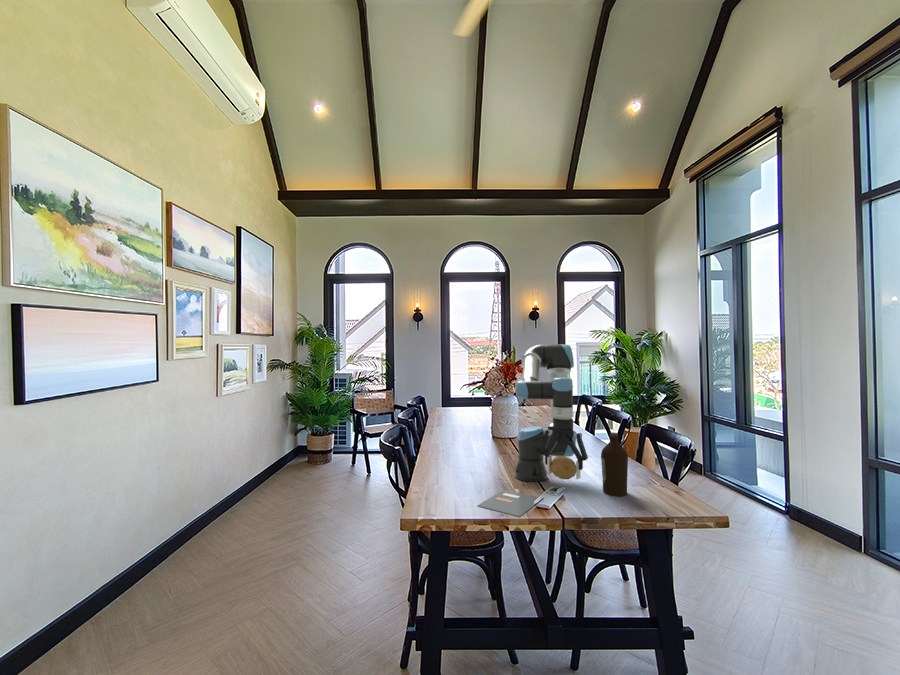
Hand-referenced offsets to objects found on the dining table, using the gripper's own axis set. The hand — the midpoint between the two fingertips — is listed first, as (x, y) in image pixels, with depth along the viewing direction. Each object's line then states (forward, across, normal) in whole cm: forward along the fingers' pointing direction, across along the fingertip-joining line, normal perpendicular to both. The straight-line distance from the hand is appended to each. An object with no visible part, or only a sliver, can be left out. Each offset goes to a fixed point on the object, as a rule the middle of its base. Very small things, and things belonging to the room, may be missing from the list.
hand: (563, 475), depth 157 cm
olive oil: (+12, +12, +28) cm, 33 cm away
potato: (+1, 0, 0) cm, 1 cm away
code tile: (+12, -19, -7) cm, 24 cm away
